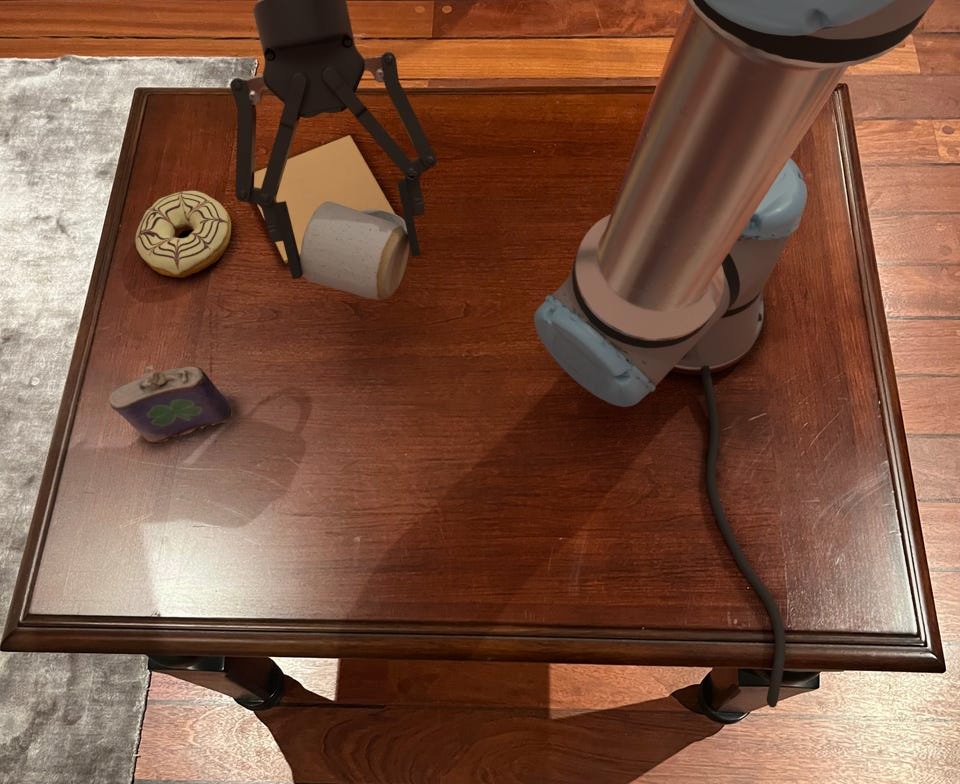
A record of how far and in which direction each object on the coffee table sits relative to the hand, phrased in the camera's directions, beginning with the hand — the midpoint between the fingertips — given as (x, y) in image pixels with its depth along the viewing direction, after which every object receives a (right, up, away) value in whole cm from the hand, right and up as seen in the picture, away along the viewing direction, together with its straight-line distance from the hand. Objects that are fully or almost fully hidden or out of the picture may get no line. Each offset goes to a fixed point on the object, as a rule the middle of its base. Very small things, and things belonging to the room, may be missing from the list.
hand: (357, 264), depth 72 cm
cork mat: (-8, +12, +24) cm, 28 cm away
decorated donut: (-23, +6, +22) cm, 32 cm away
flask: (-19, -15, +12) cm, 27 cm away
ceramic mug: (0, +1, +5) cm, 5 cm away
